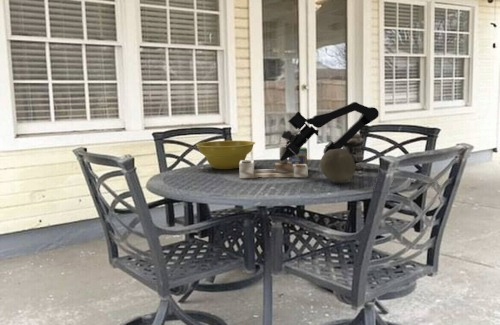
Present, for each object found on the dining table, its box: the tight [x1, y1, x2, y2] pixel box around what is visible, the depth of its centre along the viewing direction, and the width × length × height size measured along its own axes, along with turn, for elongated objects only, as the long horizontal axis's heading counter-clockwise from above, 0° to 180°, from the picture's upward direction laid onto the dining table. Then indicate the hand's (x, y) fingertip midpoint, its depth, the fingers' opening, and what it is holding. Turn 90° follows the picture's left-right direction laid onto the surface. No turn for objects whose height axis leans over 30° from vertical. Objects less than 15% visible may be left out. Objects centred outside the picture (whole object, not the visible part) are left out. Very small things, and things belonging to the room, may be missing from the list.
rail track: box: [238, 159, 309, 179], centre depth 245 cm, size 32×12×8 cm, turn 88°
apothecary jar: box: [341, 132, 365, 171], centre depth 260 cm, size 12×12×18 cm
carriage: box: [274, 146, 292, 170], centre depth 244 cm, size 8×8×10 cm
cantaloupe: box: [320, 148, 356, 185], centre depth 217 cm, size 14×14×15 cm
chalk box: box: [288, 146, 309, 169], centre depth 260 cm, size 9×9×15 cm
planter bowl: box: [195, 140, 256, 170], centre depth 278 cm, size 32×32×13 cm
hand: (280, 159), depth 244 cm, fingers closed on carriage, 4 cm apart
